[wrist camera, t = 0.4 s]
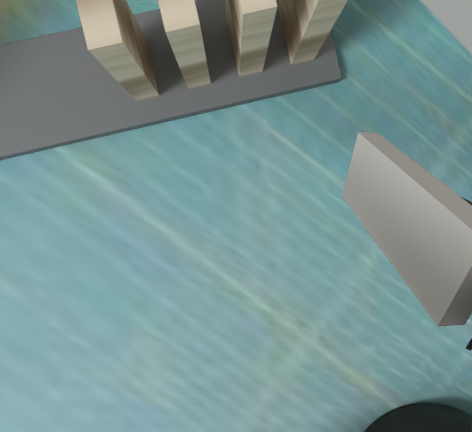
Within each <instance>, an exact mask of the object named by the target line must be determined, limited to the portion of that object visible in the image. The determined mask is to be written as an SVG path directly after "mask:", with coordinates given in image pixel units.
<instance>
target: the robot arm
mask: <svg viewBox="0 0 472 432" xmlns="http://www.w3.org/2000/svg"><path fill="white" fill-rule="evenodd" d="M342 197H343V199H344V200H345V202H346V203H347V204H348V206H349V207H350V208H351V210H352V211H353V212H354V214H355V215H356V216H357V218H358V219H359V220H360V222H361V223H362V225H363V226H364V227H365V229H366V230H367V231H368V233H369V234H370V235H371V237H372V238H373V239H374V241H375V242H376V244H377V245H378V246H379V248H380V249H381V250H382V252H383V253H384V254H385V256H386V257H387V258H388V260H389V261H390V262H391V264H392V265H393V267H394V268H395V269H396V271H397V272H398V273H399V275H400V276H401V277H402V279H403V280H404V281H405V283H406V284H407V286H408V287H409V288H410V290H411V291H412V292H413V294H414V295H415V296H416V298H417V299H418V300H419V302H420V303H421V304H422V306H423V307H424V309H425V310H426V311H427V313H428V314H429V315H430V317H431V318H432V319H433V321H434V322H435V323H436V325H437V326H450V325H464V324H465V323H466V321H467V320H468V318H469V316H470V315H471V313H472V202H470V201H468V200H466V199H464V198H462V197H460V196H459V195H458V194H456V193H455V192H454V191H452V190H451V189H450V188H448V187H447V186H446V185H445V184H443V183H442V182H441V181H439V180H438V179H437V178H436V177H434V176H433V175H432V174H430V173H429V172H428V171H427V170H425V169H424V168H423V167H421V166H420V165H419V164H417V163H416V162H415V161H414V160H412V159H411V158H410V157H408V156H407V155H406V154H405V153H403V152H402V151H401V150H399V149H398V148H397V147H396V146H394V145H393V144H392V143H390V142H389V141H388V140H386V139H385V138H384V137H383V136H381V135H380V134H379V133H361V132H358V136H357V140H356V144H355V148H354V151H353V155H352V159H351V163H350V167H349V171H348V175H347V179H346V183H345V186H344V190H343V194H342ZM466 349H468V350H470V351H471V349H472V338H471V340H470V341H469V343H468V345H467V347H466ZM365 432H472V416H470V415H469V414H467V413H465V412H463V411H461V410H459V409H456V408H453V407H450V406H446V405H441V404H429V403H426V404H414V405H409V406H405V407H402V408H399V409H396V410H394V411H392V412H390V413H388V414H386V415H384V416H383V417H381V418H380V419H378V420H377V421H375V422H374V423H373V424H372V425H371V426H370V427H369V428H368V429H367V430H366V431H365Z"/></svg>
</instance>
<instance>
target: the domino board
mask: <svg viewBox="0 0 472 432" xmlns="http://www.w3.org/2000/svg"><path fill="white" fill-rule="evenodd" d="M276 3H277V10H276V14H275V19H274V23H273V27H272V32H271V36H270V40H269V45H268V49H267V54H266V58H265V62H264V67H263V71H262V72H260V73H255V74H251V75H247V76H242V77H239V73H238V69H237V64H236V60H235V56H234V51H233V47H232V42H231V38H230V34H229V29H228V25H227V20H226V1H225V0H197V1H195V5H196V10H197V14H198V18H199V23H200V28H201V33H202V38H203V44H204V49H205V55H206V60H207V66H208V71H209V77H210V82H211V84H208V85H203V86H199V87H195V88H190V89H188V88H187V85H186V83H185V80H184V78H183V75H182V73H181V70H180V68H179V65H178V63H177V60H176V58H175V55H174V53H173V50H172V48H171V45H170V42H169V40H168V37H167V35H166V32H165V28H164V24H163V20H162V15H161V11H160V9H158V10H154V11H149V12H145V13H141V14H136V15H134V17H135V18H136V20H137V22H138V24H139V26H140V28H141V30H142V32H143V34H144V36H145V38H146V42H147V46H148V50H149V54H150V59H151V63H152V67H153V71H154V75H155V80H156V84H157V88H158V92H159V96H156V97H152V98H147V99H143V100H139V101H136V100H135V99H134V98H133V97H132V96H131V95H130V94H129V93H128V92H127V91H126V90H125V88H124V87H123V86H122V85H121V84H120V83H119V82H118V81H117V80H116V79H115V78H114V77H113V76H112V75H111V74H110V73H109V72H108V71H107V70H106V69H105V68H104V66H103V65H102V64H101V63H100V62H99V61H98V60H97V59H96V58H95V57H94V56H93V55H92V54H91V53H90V52H89V51H88V48H87V44H86V40H85V36H84V32H83V28H82V27H80V28H76V29H71V30H67V31H63V32H58V33H54V34H50V35H45V36H41V37H37V38H32V39H28V40H24V41H19V42H15V43H11V44H6V45H2V46H0V160H3V159H7V158H11V157H16V156H20V155H24V154H29V153H33V152H37V151H42V150H46V149H50V148H55V147H59V146H63V145H68V144H72V143H76V142H81V141H85V140H89V139H94V138H98V137H102V136H107V135H111V134H115V133H120V132H124V131H128V130H132V129H137V128H141V127H145V126H150V125H154V124H158V123H163V122H167V121H171V120H176V119H180V118H184V117H189V116H193V115H197V114H202V113H206V112H210V111H215V110H219V109H223V108H228V107H232V106H236V105H241V104H245V103H249V102H253V101H258V100H262V99H266V98H271V97H275V96H279V95H284V94H288V93H292V92H297V91H301V90H305V89H310V88H314V87H318V86H323V85H327V84H331V83H336V82H338V81H339V80H340V79H341V73H340V68H339V64H338V59H337V54H336V50H335V45H334V40H333V36H332V31H330V33H329V34H328V36H327V38H326V39H325V41H324V43H323V45H322V46H321V48H320V50H319V52H318V53H317V55H316V57H315V59H314V60H311V61H307V62H303V63H299V64H294V65H291V64H290V59H289V55H288V50H287V46H286V41H285V36H284V32H283V27H282V23H281V18H280V14H279V9H278V4H279V0H276Z"/></svg>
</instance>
